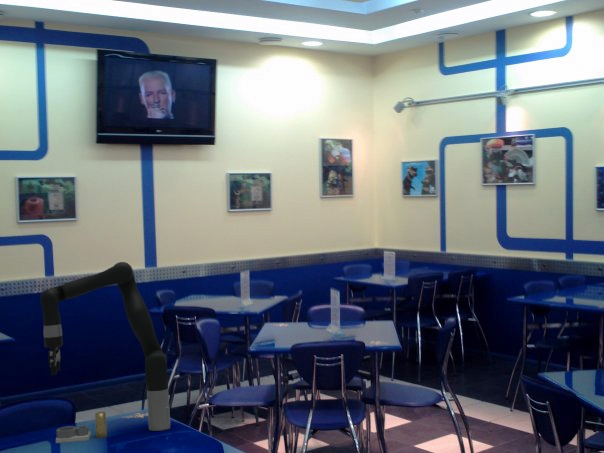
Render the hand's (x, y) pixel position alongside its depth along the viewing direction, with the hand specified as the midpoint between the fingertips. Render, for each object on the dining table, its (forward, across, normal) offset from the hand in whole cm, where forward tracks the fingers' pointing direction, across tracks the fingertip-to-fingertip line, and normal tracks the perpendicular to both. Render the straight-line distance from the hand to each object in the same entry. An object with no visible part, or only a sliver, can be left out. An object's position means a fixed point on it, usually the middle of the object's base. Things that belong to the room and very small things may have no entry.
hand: (55, 373), depth 330 cm
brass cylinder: (+28, -5, -18) cm, 33 cm away
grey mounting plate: (+28, -5, -6) cm, 29 cm away
